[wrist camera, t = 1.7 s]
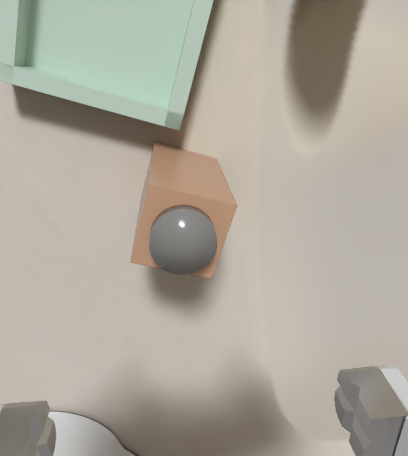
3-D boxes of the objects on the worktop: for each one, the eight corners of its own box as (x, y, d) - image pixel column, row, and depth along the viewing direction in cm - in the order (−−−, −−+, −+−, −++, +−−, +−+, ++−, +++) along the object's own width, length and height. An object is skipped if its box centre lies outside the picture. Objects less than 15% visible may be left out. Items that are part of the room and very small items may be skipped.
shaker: (199, 214, 29) (214, 291, 20) (140, 200, 28) (128, 274, 19) (216, 158, 27) (241, 214, 18) (154, 141, 26) (148, 192, 17)
